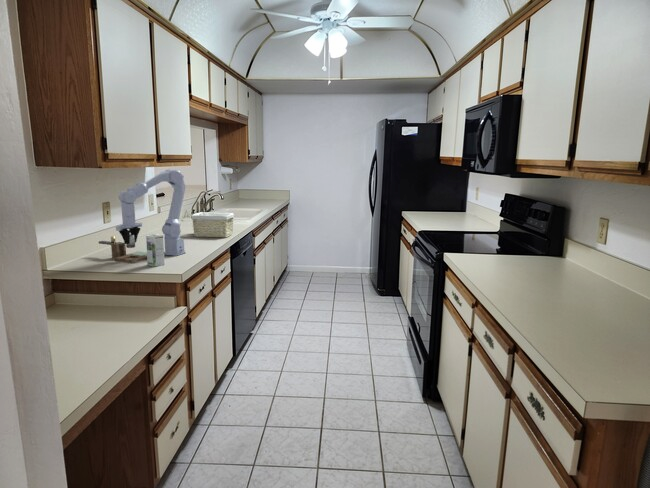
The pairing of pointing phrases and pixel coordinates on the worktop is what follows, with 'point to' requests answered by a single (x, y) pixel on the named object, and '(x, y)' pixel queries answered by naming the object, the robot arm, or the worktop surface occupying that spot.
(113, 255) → the walnut socket block
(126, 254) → the sage rubber pad
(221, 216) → the storage basket
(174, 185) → the robot arm
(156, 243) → the syrup box
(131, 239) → the steel peg
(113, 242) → the dark grey long bar
